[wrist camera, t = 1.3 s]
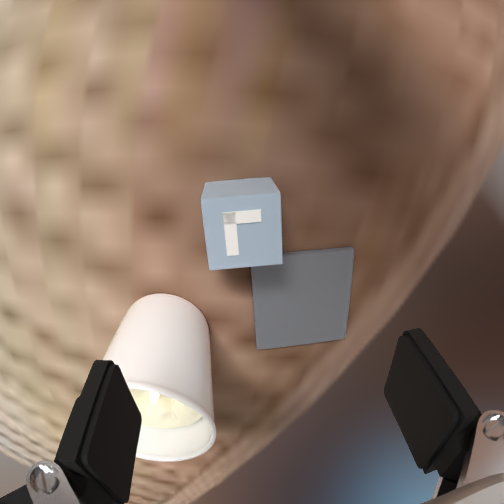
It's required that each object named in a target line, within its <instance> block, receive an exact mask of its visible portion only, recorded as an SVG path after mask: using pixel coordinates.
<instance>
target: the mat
mask: <svg viewBox="0 0 504 504" xmlns="http://www.w3.org/2000/svg"><path fill="white" fill-rule="evenodd" d="M354 250H355V249H354V248H353V247H341V248H330V249H319V250H308V251H297V252H285V253H282V263H283V264H275V265H264V266H253V267H251V278H252V292H253V306H254V319H255V333H256V347H257V350H260V349H270V348H279V347H288V346H296V345H304V344H311V343H319V342H326V341H332V340H339V339H345V333H346V326H347V318H348V310H349V302H350V293H351V283H352V273H353V262H354Z"/></svg>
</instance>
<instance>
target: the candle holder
mask: <svg viewBox="0 0 504 504" xmlns="http://www.w3.org/2000/svg"><path fill="white" fill-rule="evenodd" d="M102 360H112V361H113V362H114V364H115V365H118V366H119V367H120V369H121V372H122V374H123V376H124V379H125V381H126V383H127V385H128V388H129V390H130V392H131V394H132V396H133V398H134V400H135V403H136V405H137V407H138V409H139V411H140V413H141V416H142V424H141V429H140V435H139V440H138V446H137V451H136V457H138V458H142V459H147V460H153V461H166V462H170V461H182V460H187V459H191V458H194V457H197V456H199V455H201V454H203V453H205V452H206V451H208V450H209V449H210V448H211V447H212V445H213V444H214V442H215V439H216V426H215V421H214V407H213V391H212V373H211V353H210V335H209V328H208V324H207V321H206V319H205V317H204V315H203V314H202V313H201V311H200V310H199V309H198V308H197V307H196V306H195V305H193V304H192V303H190V302H189V301H187V300H185V299H183V298H181V297H178V296H175V295H171V294H151V295H147V296H144V297H142V298H140V299H138V300H137V301H136V302H134V303H133V304H132V305H131V307H130V308H129V309H128V311H127V312H126V314H125V316H124V318H123V320H122V321H121V323H120V325H119V327H118V329H117V331H116V333H115V335H114V337H113V339H112V341H111V343H110V345H109V347H108V349H107V351H106V353H105V355H104V357H103V359H102Z"/></svg>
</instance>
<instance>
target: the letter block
mask: <svg viewBox="0 0 504 504" xmlns="http://www.w3.org/2000/svg"><path fill="white" fill-rule="evenodd" d="M201 207H202V215H203V224H204V232H205V240H206V248H207V255H208V263H209V270H219V269H230V268H242V267H253V266H264V265H275V264H283V263H282V224H281V193H280V191H279V190H278V188H277V187H276V185H275V183H274V182H273V180H272V179H271V177H263V178H249V179H237V180H225V181H214V182H205V186H204V189H203V193H202V196H201Z"/></svg>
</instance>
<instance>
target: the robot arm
mask: <svg viewBox="0 0 504 504" xmlns="http://www.w3.org/2000/svg"><path fill="white" fill-rule="evenodd" d="M384 394H385V397H386V399H387V402H388V404H389V406H390V408H391V410H392V412H393V414H394V416H395V418H396V421H397V423H398V425H399V427H400V429H401V431H402V433H403V436H404V438H405V440H406V442H407V444H408V446H409V449H410V451H411V453H412V455H413V458H414V460H415V462H416V464H417V466H418V467H419V468H420V469H423V471H424V473H425V474H427V473H429V472H432V471H434V470H438V473H439V475H440V477H439V480H438V483H437V485H436V488H435V491H434V494H433V496H432V499H431V500H429V501H427V502H424V503H422V504H504V413H503V412H501V411H498V410H490V411H487V412H485V413H483V414H481V412H480V411H479V409H478V408H477V406H476V405H475V403H474V402H473V400H472V399H471V397H470V396H469V394H468V393H467V391H466V390H465V388H464V387H463V385H462V384H461V383H460V381H459V380H458V378H457V377H456V375H455V374H454V373H453V371H452V370H451V368H450V367H449V366H448V364H447V363H446V361H445V360H444V359H443V357H442V356H441V355H440V353H439V352H438V350H437V349H436V348H435V346H434V345H433V344H432V343H431V341H430V340H429V339H428V337H427V336H426V334H425V333H424V332H423V331H422V330H421V329H420V328H417V329H412V330H408V331H404V332H403V335H402V336H400V337H399V339H398V342H397V346H396V350H395V354H394V357H393V361H392V365H391V368H390V371H389V375H388V378H387V381H386V384H385V388H384ZM141 424H142V416H141V413H140V411H139V409H138V407H137V405H136V403H135V400H134V398H133V396H132V394H131V392H130V390H129V388H128V385H127V383H126V381H125V379H124V376H123V374H122V372H121V369H120V367H119V366H118V365H115V364H114V362H113V361H112V360H96V361H94V363H93V366H92V368H91V370H90V373H89V375H88V378H87V380H86V383H85V385H84V388H83V390H82V393H81V395H80V397H78V398H77V400H76V401H75V404H74V406H73V409H72V412H71V414H70V417H69V420H68V422H67V425H66V428H65V431H64V434H63V436H62V439H61V442H60V445H59V448H58V451H57V454H56V457H55V460H54V462H52V461H40V462H37V463H35V464H34V465H32V467H31V468H30V469H29V471H28V473H27V475H26V485H24V486H22V487H21V488H19V489H17V490H15V491H13V492H11V493H9V494H7V495H5V496H3V497H1V498H0V504H124V503H127V502H128V500H129V495H130V488H131V482H132V475H133V469H134V463H135V457H136V451H137V446H138V440H139V435H140V429H141Z"/></svg>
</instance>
